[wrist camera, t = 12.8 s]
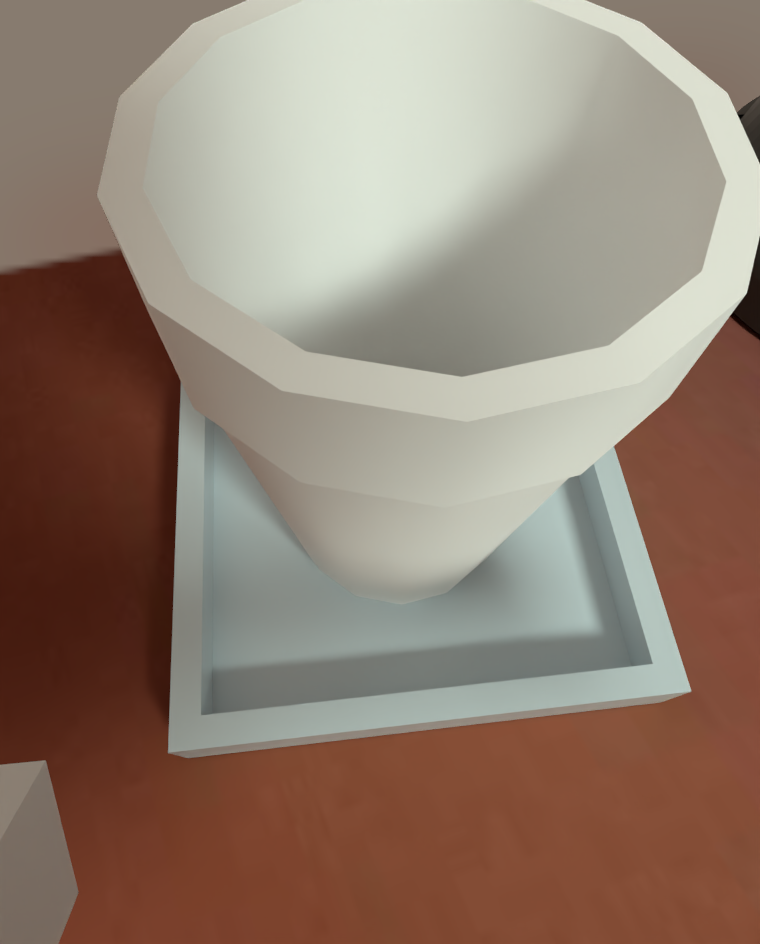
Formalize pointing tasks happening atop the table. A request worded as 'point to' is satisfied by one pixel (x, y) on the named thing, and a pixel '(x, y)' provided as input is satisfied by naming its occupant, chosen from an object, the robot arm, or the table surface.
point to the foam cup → (428, 255)
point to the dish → (401, 620)
